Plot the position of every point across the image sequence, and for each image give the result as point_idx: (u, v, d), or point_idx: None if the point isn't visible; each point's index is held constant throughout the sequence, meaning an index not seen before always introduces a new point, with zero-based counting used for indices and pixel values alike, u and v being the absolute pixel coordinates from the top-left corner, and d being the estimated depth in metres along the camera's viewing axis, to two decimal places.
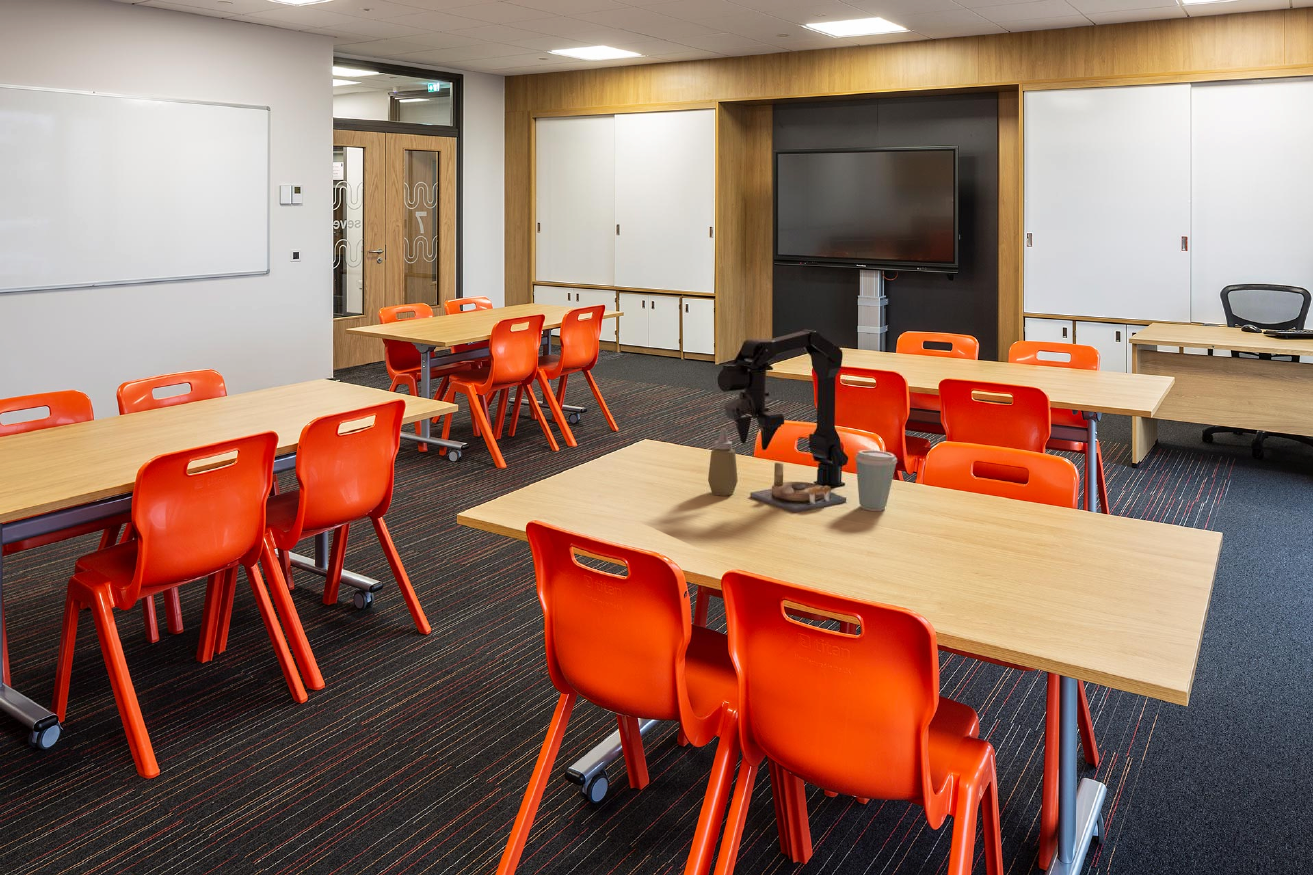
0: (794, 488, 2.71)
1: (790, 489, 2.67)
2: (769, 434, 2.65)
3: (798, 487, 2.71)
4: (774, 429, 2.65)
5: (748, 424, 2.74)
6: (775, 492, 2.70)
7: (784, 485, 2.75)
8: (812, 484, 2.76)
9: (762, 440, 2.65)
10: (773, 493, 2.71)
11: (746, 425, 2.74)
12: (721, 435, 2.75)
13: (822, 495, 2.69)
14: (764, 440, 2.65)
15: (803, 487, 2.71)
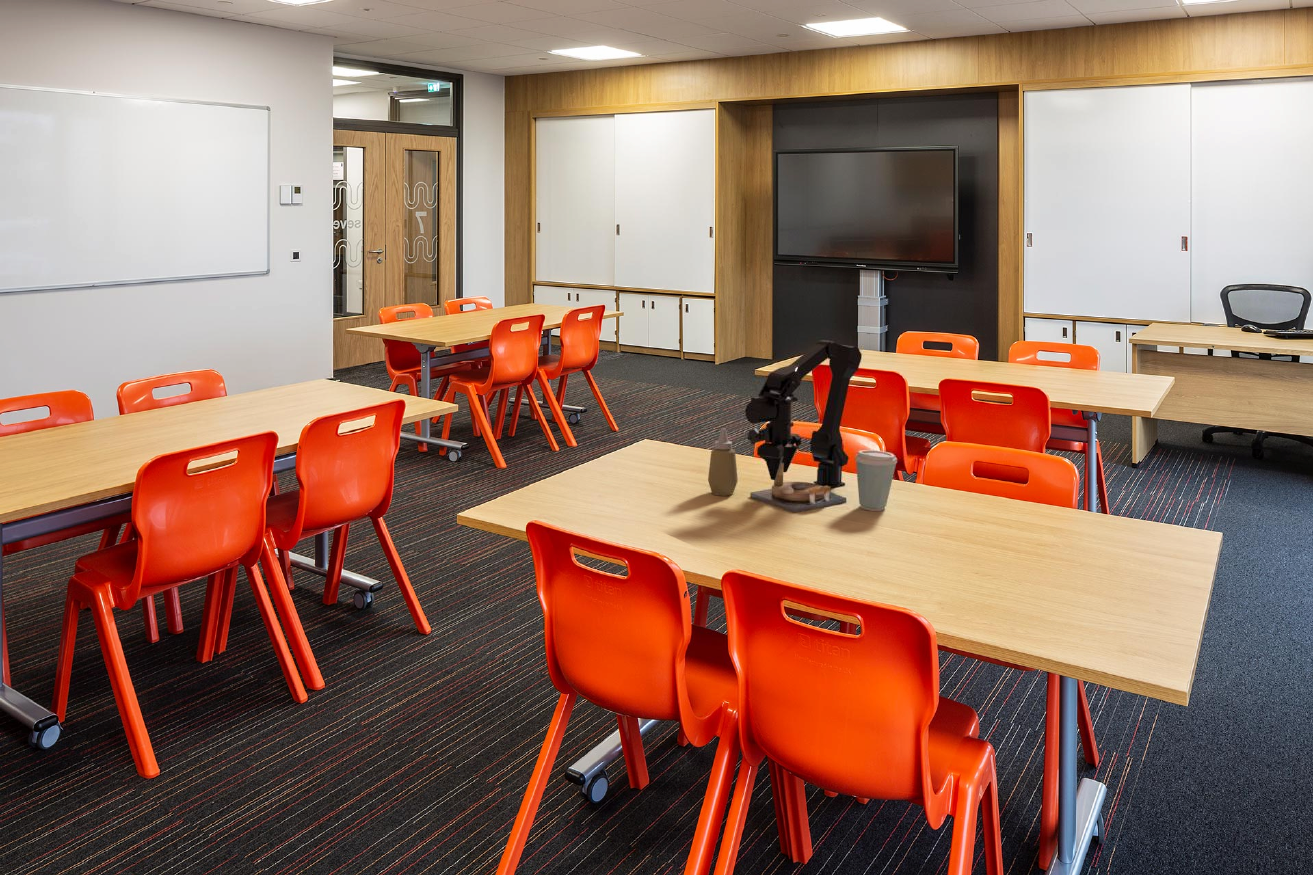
0: (794, 488, 2.71)
1: (790, 489, 2.67)
2: (774, 465, 2.69)
3: (798, 487, 2.71)
4: (777, 461, 2.68)
5: (791, 455, 2.78)
6: (775, 492, 2.70)
7: (784, 485, 2.75)
8: (812, 484, 2.76)
9: None
10: (773, 493, 2.71)
11: (788, 455, 2.78)
12: (721, 435, 2.75)
13: (822, 495, 2.69)
14: (769, 470, 2.70)
15: (803, 487, 2.71)
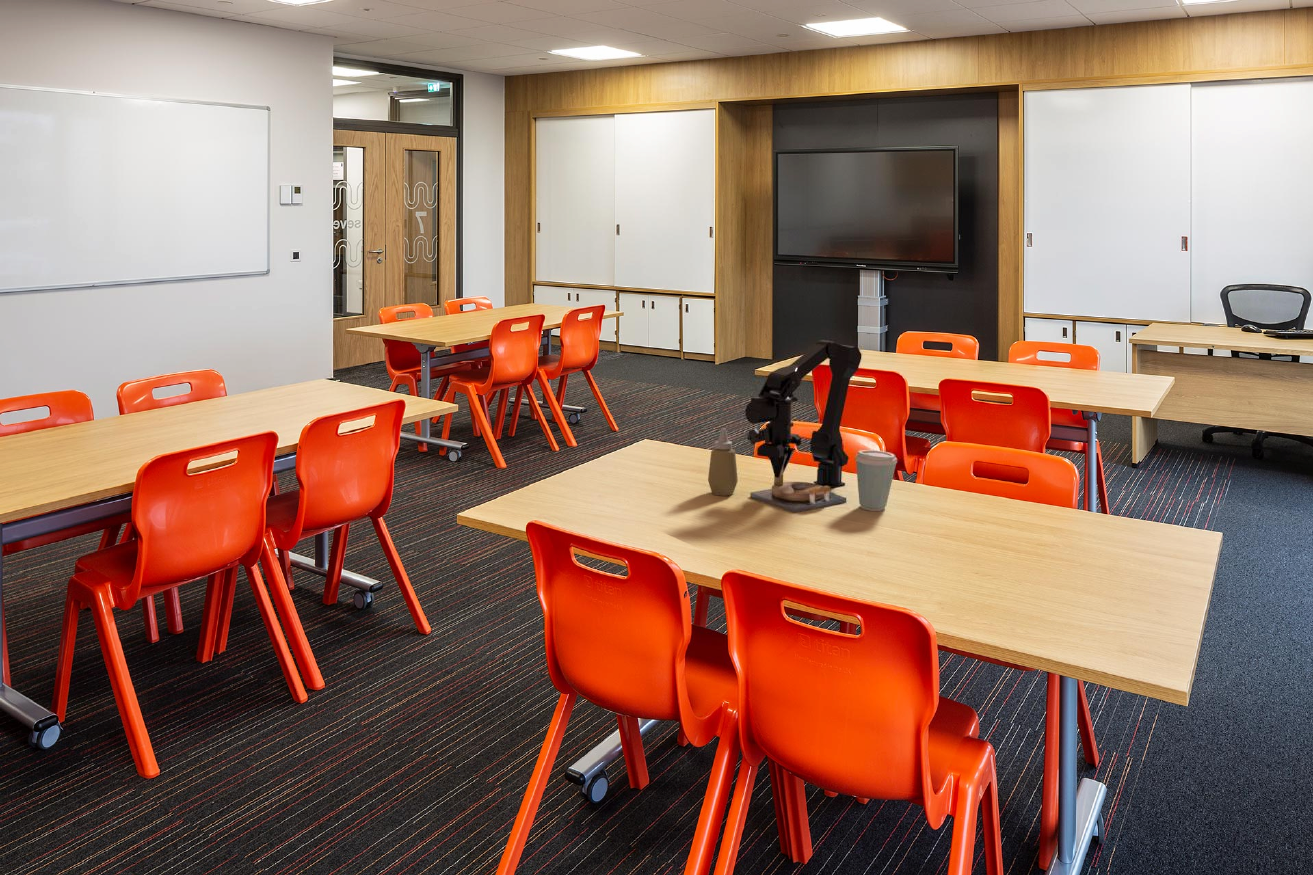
0: (794, 488, 2.71)
1: (790, 489, 2.67)
2: (778, 463, 2.72)
3: (798, 487, 2.71)
4: (781, 459, 2.71)
5: (787, 457, 2.75)
6: (775, 492, 2.70)
7: (784, 485, 2.75)
8: (812, 484, 2.76)
9: None
10: (773, 493, 2.71)
11: None
12: (721, 435, 2.75)
13: (822, 495, 2.69)
14: (773, 467, 2.73)
15: (803, 487, 2.71)
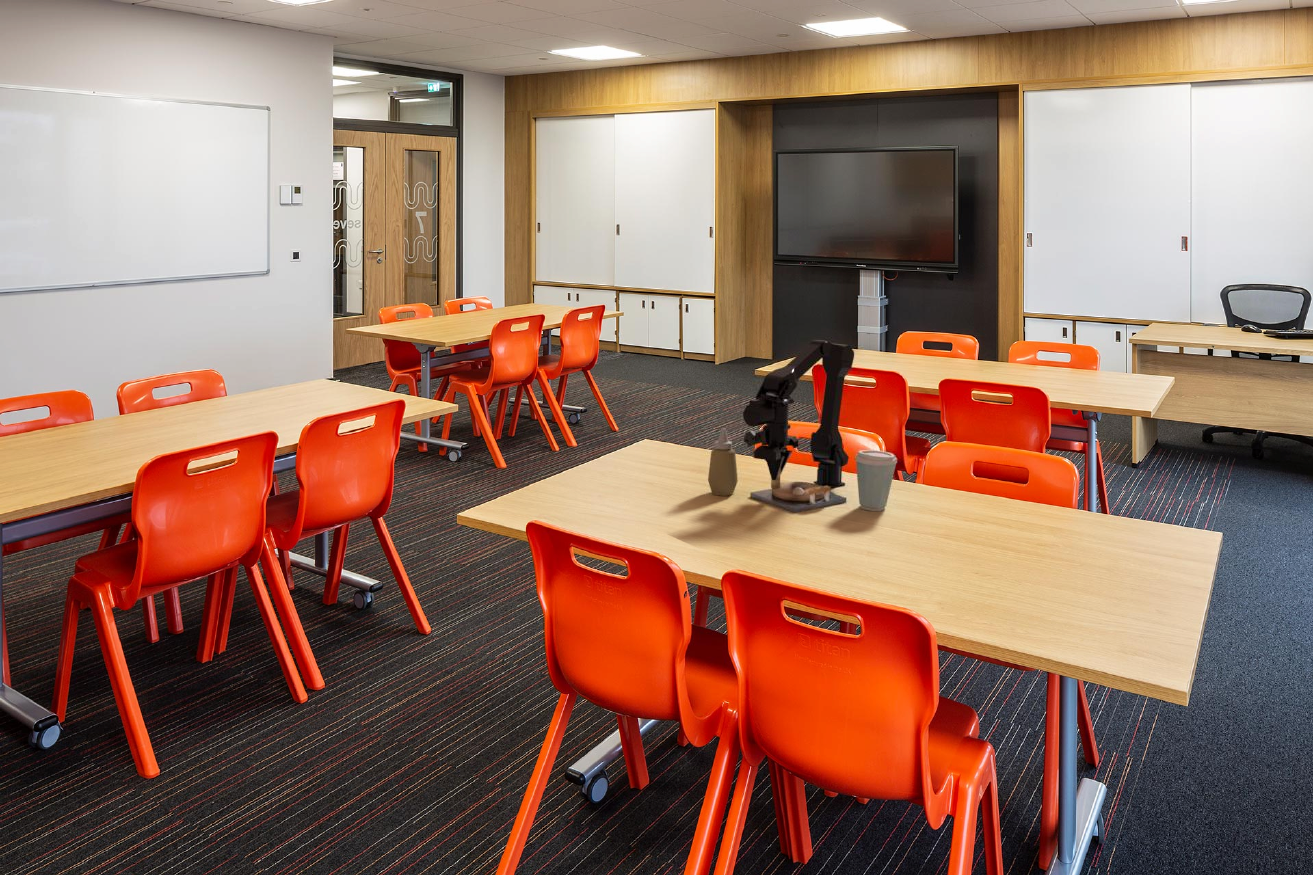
0: None
1: (802, 490, 2.66)
2: (774, 465, 2.69)
3: (801, 487, 2.71)
4: (778, 461, 2.68)
5: (784, 460, 2.72)
6: (784, 495, 2.67)
7: (781, 487, 2.73)
8: (802, 482, 2.78)
9: None
10: (781, 496, 2.68)
11: None
12: (721, 435, 2.75)
13: None
14: (770, 470, 2.70)
15: (804, 486, 2.72)
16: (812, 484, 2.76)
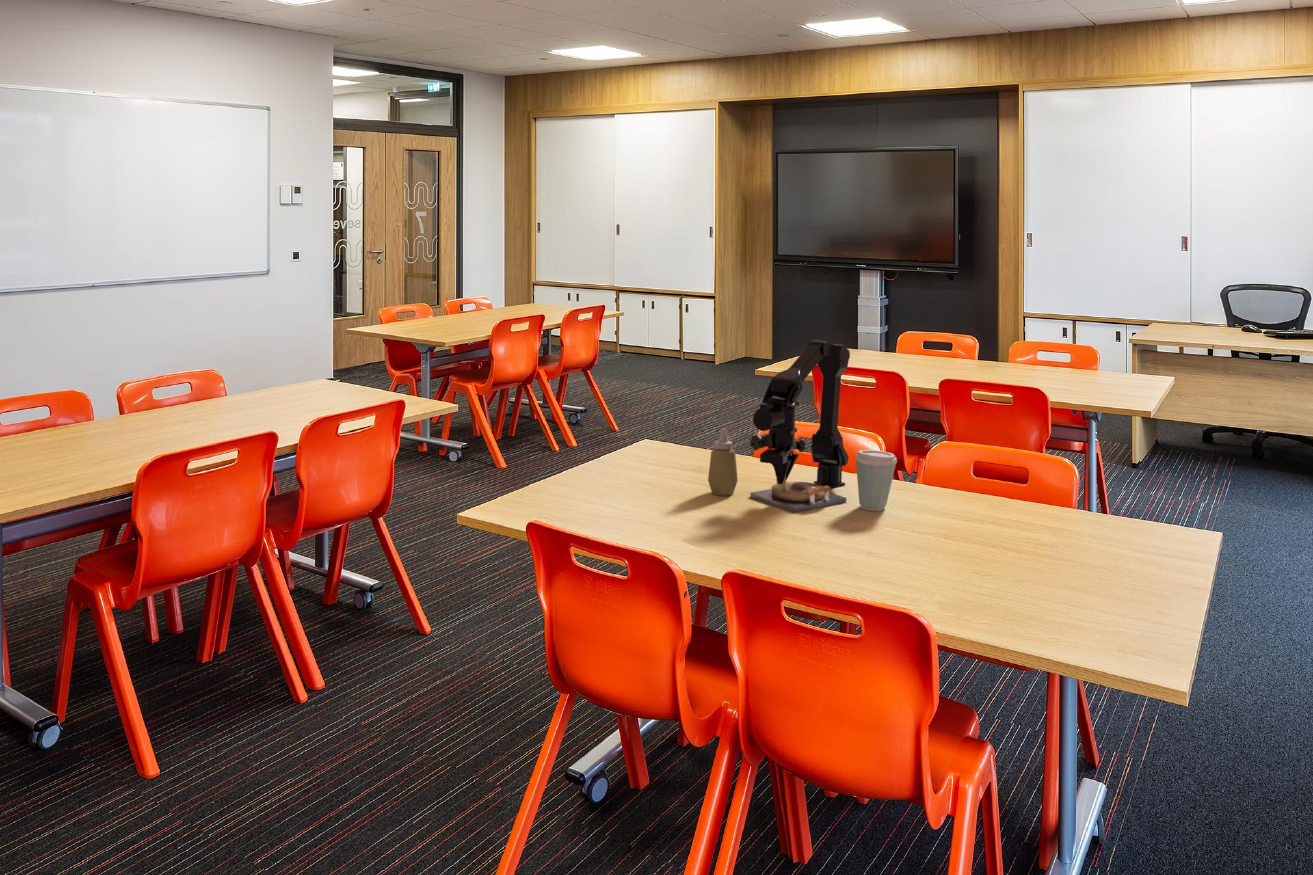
0: (802, 488, 2.71)
1: None
2: (781, 469, 2.65)
3: (804, 486, 2.71)
4: (785, 465, 2.64)
5: (790, 464, 2.68)
6: (802, 497, 2.66)
7: (784, 490, 2.70)
8: (787, 483, 2.78)
9: None
10: (798, 498, 2.66)
11: None
12: (721, 435, 2.75)
13: None
14: (776, 474, 2.66)
15: None
16: (798, 482, 2.78)
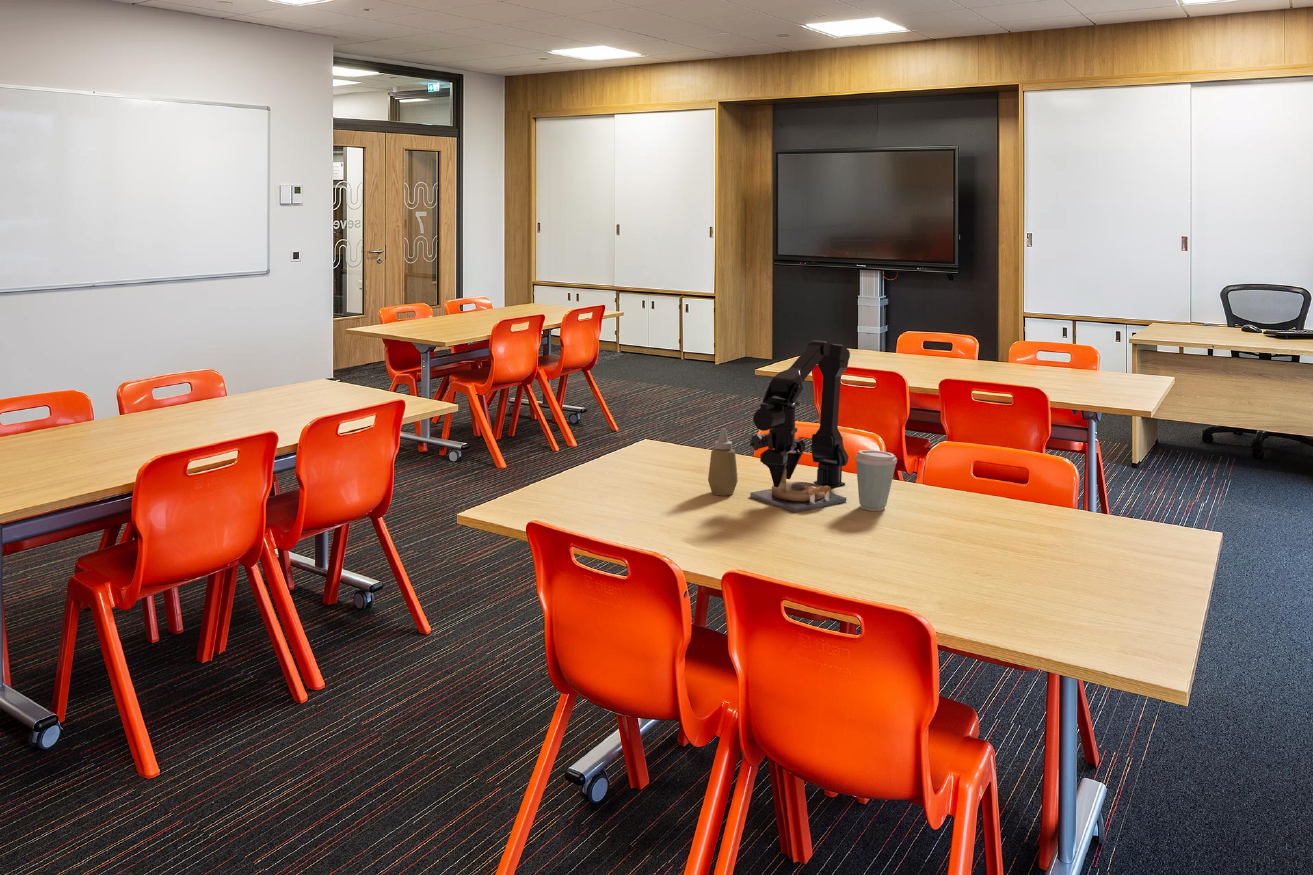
0: (802, 488, 2.71)
1: None
2: (777, 472, 2.62)
3: (804, 486, 2.72)
4: (781, 468, 2.61)
5: (795, 461, 2.71)
6: (803, 497, 2.66)
7: None
8: (786, 483, 2.78)
9: None
10: (799, 498, 2.66)
11: (792, 462, 2.71)
12: (721, 435, 2.75)
13: None
14: (772, 477, 2.63)
15: None
16: (797, 482, 2.78)
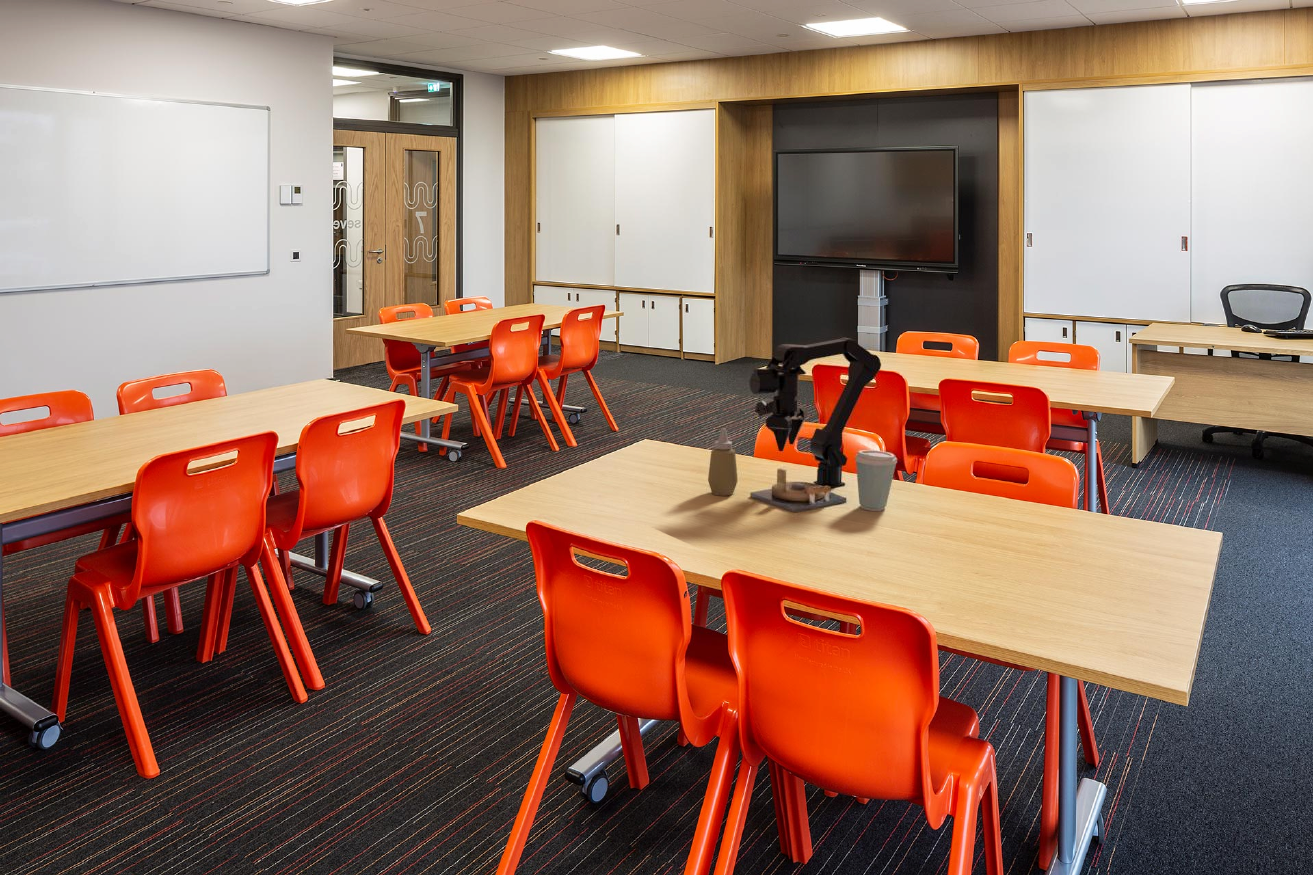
0: (802, 488, 2.71)
1: None
2: (782, 436, 2.74)
3: (804, 486, 2.72)
4: (785, 432, 2.73)
5: (798, 427, 2.83)
6: (803, 497, 2.66)
7: None
8: (786, 483, 2.78)
9: None
10: (799, 498, 2.66)
11: (795, 427, 2.83)
12: (721, 435, 2.75)
13: None
14: (777, 441, 2.75)
15: None
16: (797, 482, 2.78)
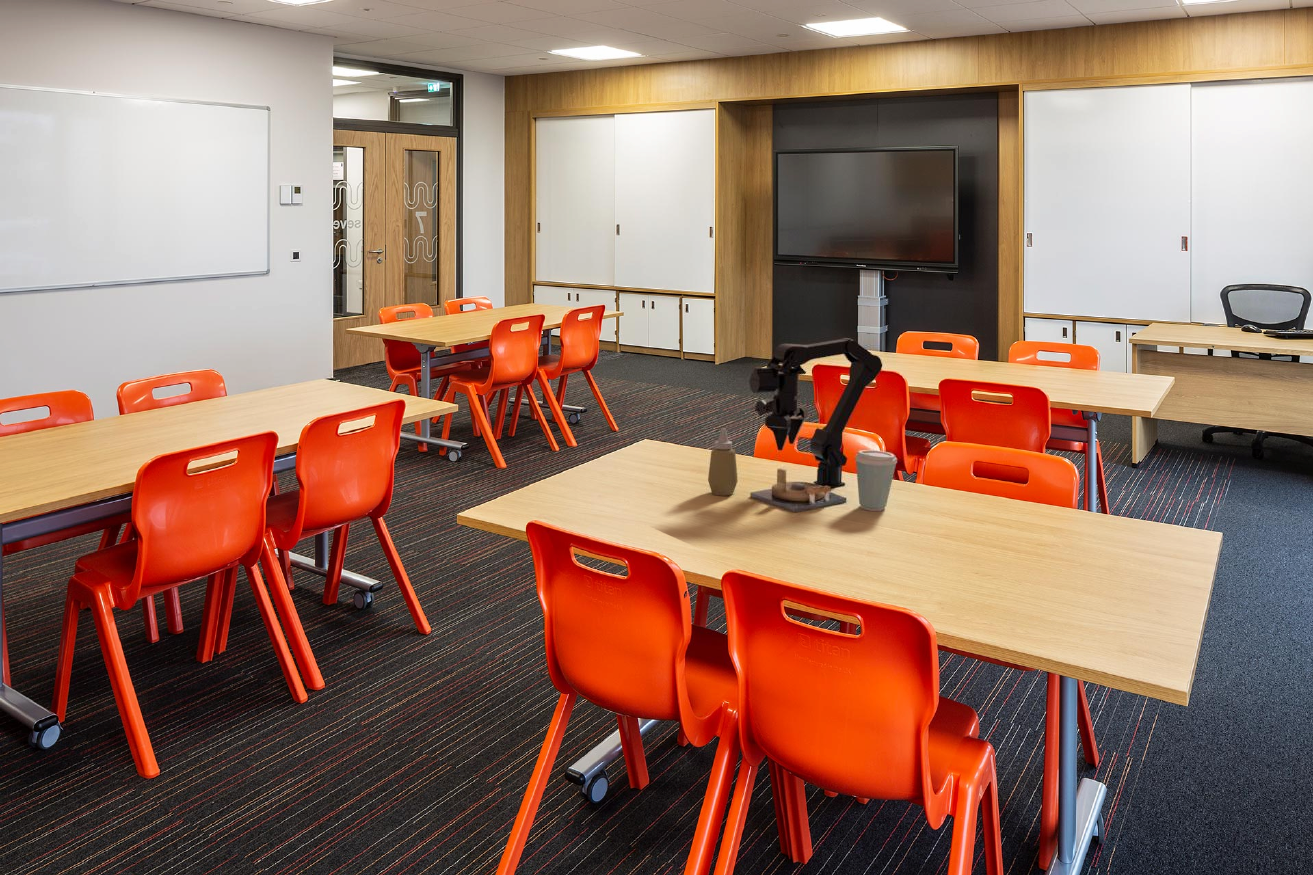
0: (802, 488, 2.71)
1: None
2: (781, 436, 2.75)
3: (804, 486, 2.72)
4: (784, 432, 2.73)
5: (798, 426, 2.83)
6: (803, 497, 2.66)
7: None
8: (786, 483, 2.78)
9: None
10: (799, 498, 2.66)
11: (795, 427, 2.84)
12: (721, 435, 2.75)
13: None
14: (776, 440, 2.76)
15: None
16: (797, 482, 2.78)
